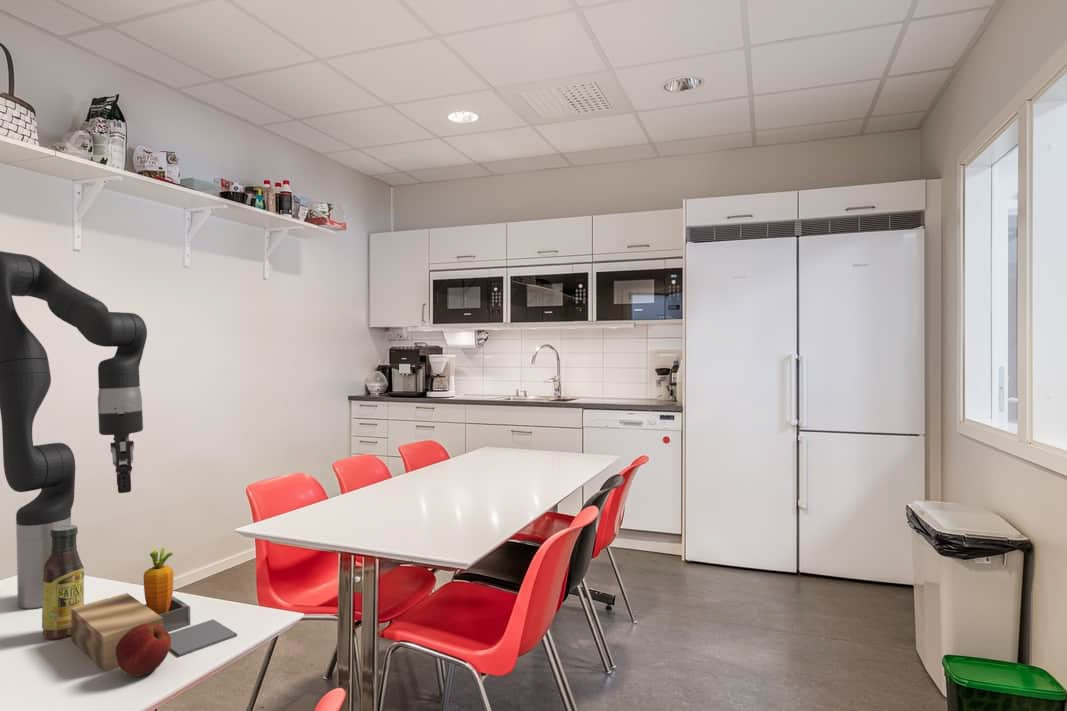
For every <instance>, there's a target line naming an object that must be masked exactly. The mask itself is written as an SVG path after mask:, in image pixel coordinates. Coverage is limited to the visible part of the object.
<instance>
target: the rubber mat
mask: <svg viewBox="0 0 1067 711" xmlns="http://www.w3.org/2000/svg"><path fill="white" fill-rule="evenodd" d="M169 635H170V637H171V646H170V650H169V651H171V652H172V653H174V654H175V655H176V656H177V657H181V656H182V657H183V656H185V655H188V654H191V653H194V652H196V651H199V650H202V649H204V648H207V647H210V646H212V645H215V644H218V643H221V642H224V641H227V640H230V639H232V638H236V637H238V633H236V632H235V631H233V630H232V629H230V628H228V627H227V626H225V625H223V624H222V623H221V622H219V621H217V620H215V619H214V618H213V619H209V620H207V621H203V622H201V623H198V624H195V625H192V626H188V627H186V628H185V627H184V628H183V629H179V630H177V631H174V632H170V633H169Z"/></svg>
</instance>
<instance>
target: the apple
mask: <svg viewBox="0 0 1067 711" xmlns="http://www.w3.org/2000/svg"><path fill="white" fill-rule="evenodd" d="M169 634H170V633H169V632H167V631H166V629H164V628H163V627H161V626H160V625H157V624H152V623H145V624H141V625H138V626H136V627H134V628H133V629H131V630H130V631H128V632H127V633H126V634H125V635H124V636H123V637H122V638H121V639H120V641H119V642H118V644H117V647H116V653H115V654H116V659H117V662H118V665H119V668H120V670H121V671H122V672H123V673H125V674H127V675H129V676H135V677H136V676H137V677H139V676H144V675H149V673H152V672H154V671H155V670H157V668H158V667H160V666H161V664H163V662H164V660H166V657H167V656H168V654H169V652H170V651H171V650H170V646H171V637H170V635H169Z"/></svg>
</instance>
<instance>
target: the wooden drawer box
mask: <svg viewBox="0 0 1067 711" xmlns="http://www.w3.org/2000/svg"><path fill="white" fill-rule="evenodd" d="M71 621H72V635H71V642H73V644H75V646H77V648H79V650H81V651H82V652H83V653H84V654H85V655H86V656H87V657H88V658H89V660H91V661H92V662H93V664H95V665H96V666H97V667H98V668H99V669H100V670H101V671H102V672H103V673H106V672H109V671H113V670H115V669H119V668H120V667H119V665H118V662H117V659H116V654H115V653H116V647H117V644H118V642H119V641H120V639H121V638H122V637H123V636H124V635H125V634H126V633H127V632H128V631H130V630H131V629H133V628H134V627H136V626H138V625H141V624H145V623H152V624H157V625H160V626H161V627H163V628H164V629H166V631H167V632H168V633H169V632H172V631H175V630H178V629H181V628H185V627H187V626H188V627H189V626H190V625H191V606H190V605H189V604H187V603H186V602H183V601H182V600H180V599H178V598H177V597H175V596H173V595H172V600H171V604H170V609H169V611H168V612H165V613H162V614H159V615H158V614H157V613H155V612H154V611H152V610H151V609H150V608H148V607H147V604H144V603H142V602H141V601H139V600H138V599H137V598H135V597H133V595H131V594H129V593H128V592H125V593H122V594H119V595H115V596H111V597H108V598H104V599H100V600H97V601H93V602H89V603H86V604H84V605H81V606H77V607H73V608H71Z"/></svg>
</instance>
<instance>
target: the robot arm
mask: <svg viewBox="0 0 1067 711" xmlns="http://www.w3.org/2000/svg"><path fill="white" fill-rule="evenodd" d="M13 296H14V297H31V298H35V299H38V300H43V301H45V302H46V303H47V307H48V308H49V310H50V312H51V313H52V314H53V315H54V316H55V317H57V318H58V319H60V320H61V321H63V322H65V323H67V324H69V325H71V327H73V328H76V329H77V330H78V332H79V333H80V334H82V336H83V337H84V338H85V339H86V340H87V341H88V342H89V343H91V344H93V345H96V346H100V347H104V348H105V347H107V348H108V347H109V348H110V347H113V348H114V347H116V351H115V353H114V356H113V357H111V358H107V359H104V360H101V361H100V362H99V363H98V367H97V378H98V395H97V410H98V411H97V414H98V433H99V434H100V435H101V436H113V439H112V440H113V441H114V442H110V443H109V444H110V446H109V447H110V453H111V454H112V456H111V458H112V459H111V460H112V464H113V465H114V467H115V473H116V485H117V492H118V493H119V494H127V493H130V492H131V491H132V481H131V477H132V476H131V474H132V471H133V466H132V464H133V463H134V452H133V451H134V450H135V442H134V441H133V440H130V434H135V433H139V432H142V431H143V430H144V423H143V422H144V419H143V418H144V417H143V397H142V392H141V387H140V386H141V381H140V366H141V361H142V358H143V354H144V349H145V346H146V342H147V338H148V330H147V329H148V328H147V326H146V323H145V321H144V319H143V317H141V316H140V315H138V314H136V313H134V312H133V313H132V312H115V311H110V310H109V309H108V307H107V305H106V304H105V303H103V302H102V301H100V300H99V299H97V298H95V296H92V295H90V294H88V293H86V292H84V291H82V290H80V289H78V288H76V287H75V286H73V285H72V284H70V283H69V282H67V281H65V279H63V278H62V277H60V276H59V275H58V274H57V273H55V272H54V271H53V270H52V269H51V268H50V267H48V266H47V264H46V265H45V264H44V263H43V262H42V261H40V259H38V258H36V257H33V256H31V255H28V254H22V253H14V252H7V251H0V418H1V433H2V458H3V459H2V461H3V472H4V475H5V476H4V477H5V479H6V482H7V484H8V486H9V487H10V489H12V490H13V491H15V492H16V493H26V492H31V491H36V490H37V491H38V490H40V489H41V490H40V492H39V494H38V495H37V496H36V497H35V498H33V500H31V501H29V502H28V503H26V504H24V505H23V506H21V507H20V508H18V510H17V511H16V515H15V524H16V526H15V529H16V536H15V537H16V562H17V563H16V576H17V581H16V582H17V586H16V587H17V590H16V591H17V607H19V608H20V609H36V608H37V609H38V608H42V602H43V579H44V571H43V570H44V566H45V563H46V561H47V560H48V559H49V557H50V556H51V554H52V552H51V549H52V537H51V529H52V528H55V527H60V526H67V525H72V509H73V508H72V507H73V505H74V502H75V488H76V487H75V484H76V483H75V482H76V459H75V455H74V452H73V449H71V448H70V446H69V445H68V444H66V443H62V442H53V443H51V442H50V443H46V444H45V443H43V444H38V445H34V440H33V427H34V426H33V424H34V420H35V417H36V415H37V413H38V410H39V409H40V407H41V405H42V404H43V402H44V399H46V396H47V394H48V392H49V390H50V387H51V383H52V376H51V369H50V362H49V358H48V353H47V351H46V349H45V347H44V346H43V344H42V343H41V342H40V340H39V339H38V338H37V337H36V336H35V334H34V333H33V332H32V331H31V330H30V328H28V326H27V325H26V324H25V323H24V322H23V320H22V318H21V317H20V316H19V314H18V312H17V310H16V307H15V303H14V299H13Z"/></svg>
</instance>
